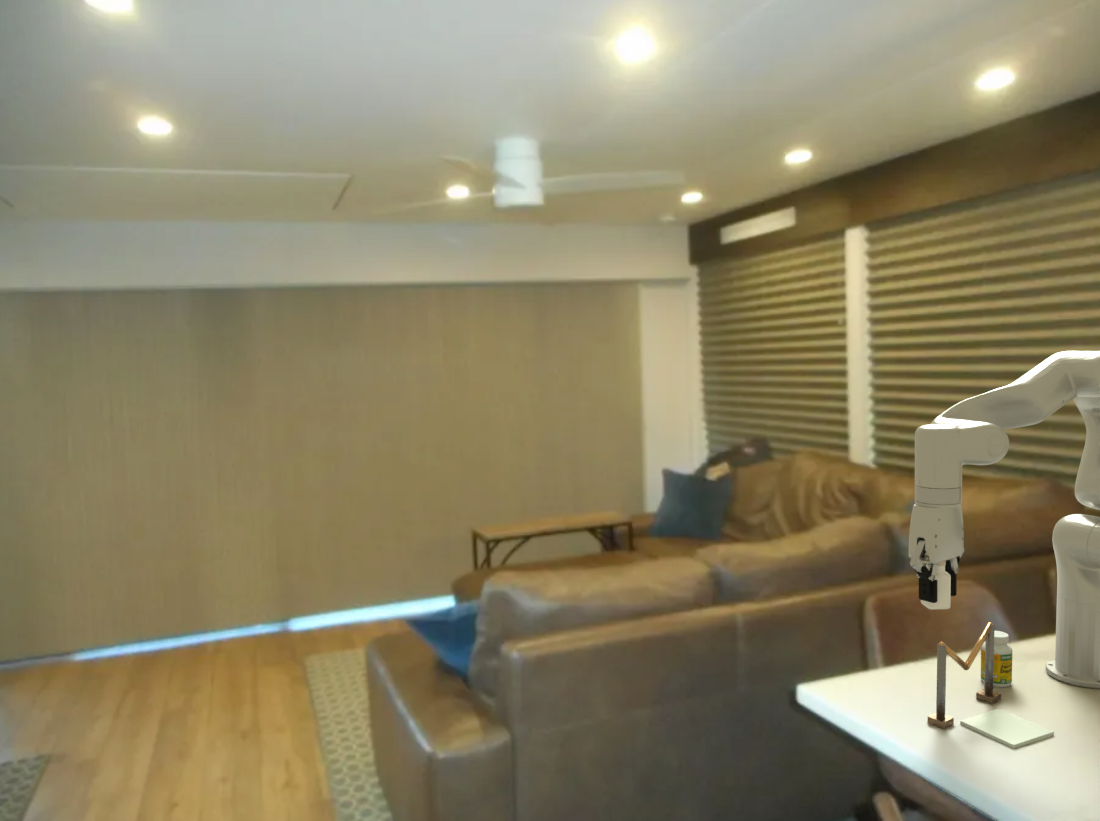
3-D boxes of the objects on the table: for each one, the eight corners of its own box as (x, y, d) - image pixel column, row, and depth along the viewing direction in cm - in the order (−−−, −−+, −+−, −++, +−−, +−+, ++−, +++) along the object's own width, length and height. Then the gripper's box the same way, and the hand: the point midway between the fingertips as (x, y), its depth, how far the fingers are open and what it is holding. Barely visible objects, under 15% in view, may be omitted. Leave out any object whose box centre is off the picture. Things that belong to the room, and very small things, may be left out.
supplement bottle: (989, 674, 167) (991, 627, 166) (1017, 683, 163) (1018, 634, 162) (974, 681, 164) (975, 632, 163) (1002, 690, 160) (1003, 640, 159)
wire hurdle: (984, 694, 158) (986, 618, 157) (1000, 700, 156) (1002, 622, 154) (927, 723, 147) (928, 641, 146) (944, 729, 145) (945, 646, 143)
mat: (999, 712, 151) (999, 708, 151) (1053, 735, 142) (1054, 731, 142) (960, 723, 146) (960, 720, 146) (1013, 748, 137) (1013, 744, 137)
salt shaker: (951, 610, 148) (952, 556, 147) (928, 610, 148) (929, 557, 147) (941, 602, 152) (942, 550, 151) (919, 603, 152) (919, 551, 151)
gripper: (945, 486, 156) (944, 583, 158) (889, 499, 146) (889, 602, 148) (985, 492, 150) (984, 592, 151) (929, 505, 140) (929, 613, 142)
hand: (937, 596), depth 150 cm, fingers closed on salt shaker, 5 cm apart
